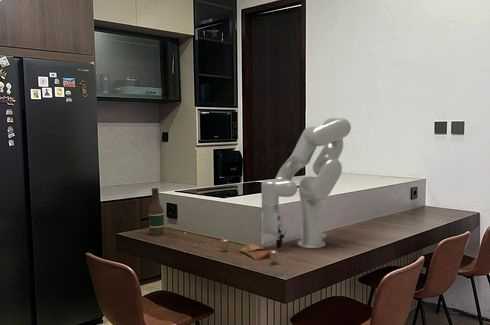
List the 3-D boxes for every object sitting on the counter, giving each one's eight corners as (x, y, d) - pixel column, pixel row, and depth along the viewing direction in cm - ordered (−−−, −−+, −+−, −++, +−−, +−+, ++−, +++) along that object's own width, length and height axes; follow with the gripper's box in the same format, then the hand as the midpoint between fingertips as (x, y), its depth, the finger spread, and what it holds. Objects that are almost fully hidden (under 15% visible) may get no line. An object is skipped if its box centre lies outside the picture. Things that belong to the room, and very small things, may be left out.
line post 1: (225, 249, 215) (224, 238, 215) (230, 251, 213) (229, 239, 213) (220, 251, 213) (219, 240, 212) (225, 252, 211) (224, 241, 210)
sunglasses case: (235, 251, 213) (241, 237, 214) (247, 256, 216) (253, 243, 217) (256, 261, 197) (263, 246, 198) (269, 267, 201) (275, 252, 202)
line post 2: (273, 261, 196) (273, 249, 196) (279, 263, 194) (279, 250, 193) (268, 263, 194) (268, 251, 193) (274, 265, 192) (274, 252, 191)
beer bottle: (146, 234, 247) (144, 188, 245) (159, 231, 252) (157, 186, 250) (154, 237, 241) (152, 189, 239) (167, 234, 247) (165, 188, 244)
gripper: (290, 209, 209) (291, 247, 211) (261, 204, 221) (261, 241, 223) (280, 212, 204) (280, 251, 206) (250, 207, 216) (250, 244, 217)
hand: (270, 246), depth 214 cm, fingers open, 9 cm apart
